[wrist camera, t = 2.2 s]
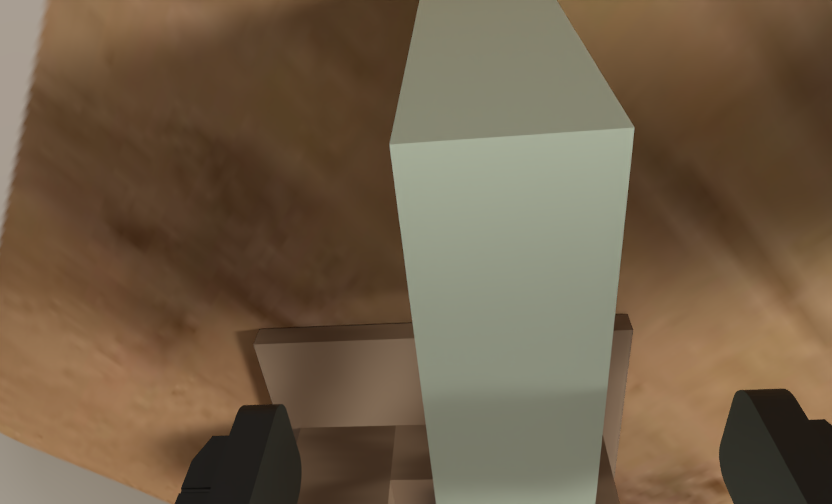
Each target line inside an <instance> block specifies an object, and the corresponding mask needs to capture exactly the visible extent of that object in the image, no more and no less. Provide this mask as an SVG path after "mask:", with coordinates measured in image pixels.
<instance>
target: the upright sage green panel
mask: <svg viewBox="0 0 832 504" xmlns="http://www.w3.org/2000/svg"><path fill="white" fill-rule="evenodd" d="M634 128H635V127H634V126H633V124H632V123H631V121H630V119H629V118H628V116H627V114H626V113H625V111H624V109H623V108H622V106H621V105H620V103H619V101H618V100H617V98H616V96H615V95H614V93H613V91H612V90H611V88H610V87H609V85H608V83H607V82H606V80H605V78H604V77H603V75H602V74H601V72H600V70H599V69H598V67H597V65H596V64H595V62H594V60H593V59H592V57H591V56H590V54H589V52H588V51H587V49H586V47H585V46H584V44H583V42H582V41H581V39H580V38H579V36H578V34H577V33H576V31H575V29H574V28H573V26H572V24H571V23H570V21H569V20H568V18H567V16H566V15H565V13H564V11H563V10H562V8H561V6H560V5H559V3H558V2H557V0H419V5H418V9H417V14H416V19H415V24H414V29H413V33H412V38H411V43H410V48H409V53H408V57H407V62H406V67H405V72H404V77H403V81H402V86H401V91H400V96H399V101H398V105H397V110H396V115H395V120H394V124H393V129H392V134H391V139H390V144H389V146H390V154H391V161H392V169H393V177H394V184H395V192H396V200H397V207H398V215H399V223H400V230H401V238H402V246H403V253H404V261H405V269H406V277H407V284H408V292H409V300H410V307H411V315H412V323H413V330H414V338H415V346H416V353H417V361H418V369H419V376H420V384H421V392H422V399H423V407H424V415H425V423H426V430H427V438H428V446H429V453H430V461H431V469H432V476H433V484H434V492H435V499H436V504H595V502H596V493H597V483H598V474H599V464H600V454H601V445H602V435H603V426H604V416H605V407H606V397H607V387H608V378H609V368H610V359H611V349H612V339H613V330H614V320H615V311H616V301H617V291H618V282H619V272H620V263H621V253H622V243H623V234H624V224H625V215H626V205H627V196H628V186H629V176H630V167H631V157H632V148H633V138H634Z"/></svg>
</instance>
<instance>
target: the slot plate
mask: <svg viewBox="0 0 832 504" xmlns="http://www.w3.org/2000/svg"><path fill="white" fill-rule="evenodd" d="M632 335H633V328H632V325H631V323H630V320H629V317H628V314H620V315H615V320H614V330H613V339H612V349H611V359H610V368H609V378H608V387H607V397H606V407H605V416H604V426H603V435H602V445H601V454H600V464H599V474H598V483H597V493H596V502H595V504H620V502H619V498H618V494H617V490H616V486H615V482H614V476H615V468H616V461H617V453H618V445H619V437H620V429H621V421H622V413H623V406H624V398H625V390H626V382H627V374H628V366H629V358H630V351H631V343H632ZM253 345H254V348H255V351H256V354H257V357H258V361H259V364H260V367H261V370H262V373H263V376H264V379H265V382H266V385H267V388H268V392H269V395H270V398H271V401H272V404H283V405H284V406H285V408H286V410H287V413H288V416H289V420H290V423H291V426H292V430H293V433H294V437H295V440H296V443H297V447H298V450H299V453H300V457H301V466H302V478H301V488H300V493H299V498H298V502H297V504H436V499H435V492H434V484H433V476H432V469H431V461H430V453H429V446H428V438H427V430H426V423H425V415H424V407H423V399H422V392H421V384H420V376H419V369H418V361H417V353H416V346H415V338H414V330H413V323H400V324H375V325H351V326H326V327H302V328H277V329H259V331H258V334H257V336H256V339H255V341H254V344H253Z"/></svg>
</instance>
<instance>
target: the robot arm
mask: <svg viewBox="0 0 832 504" xmlns="http://www.w3.org/2000/svg"><path fill="white" fill-rule="evenodd" d="M719 460H720V467H721V472H722V476H723V479H724V482H725V484H726V487H727V489H728V491H729V494H730V496H731V498H732V501H733V503H734V504H832V425H831V424H829V423H828V422H827V421H826V420H825V419H823V420H809V419H808V418H807V416H806V415H805V413H804V411H803V410H802V408H801V407H800V405H799V403H798V402H797V400H796V399H795V397H794V396H793V394H792V393H791V392H790V391H788V390H786V389H758V390H739V391H737V392H736V393H735V395H734V398H733V401H732V405H731V408H730V412H729V415H728V419H727V422H726V426H725V429H724V433H723V436H722V440H721V444H720V449H719ZM301 478H302V466H301V457H300V453H299V450H298V447H297V443H296V440H295V437H294V433H293V430H292V426H291V423H290V420H289V416H288V413H287V410H286V408H285V406H284V405H283V404H270V405H244V406H242V407H241V408H240V409H239V411H238V413H237V415H236V418H235V421H234V423H233V426H232V429H231V432H230V435H229V436H212V438H211V439H210V440H209V441H208V442H207V443H206V445H205V446H204V447H203V448H202V449H201V451H200V452H199V453H198V454H197V455H196V456H195V458H194V459H193V460H192V462H191V465H190V467H189V470H188V472H187V475H186V477H185V480H184V482H183V485H182V487H181V493H179V495H178V497H177V500H176V502H175V504H297V502H298V498H299V493H300V488H301Z"/></svg>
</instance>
